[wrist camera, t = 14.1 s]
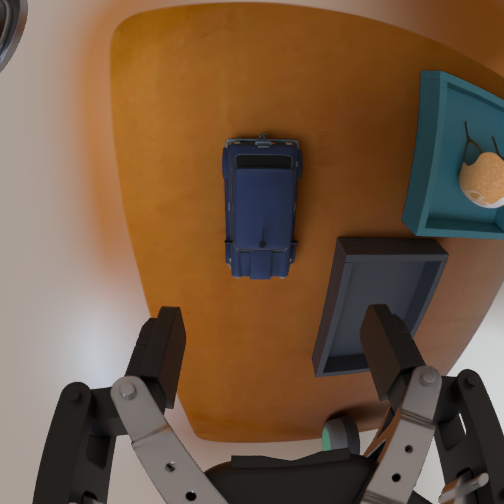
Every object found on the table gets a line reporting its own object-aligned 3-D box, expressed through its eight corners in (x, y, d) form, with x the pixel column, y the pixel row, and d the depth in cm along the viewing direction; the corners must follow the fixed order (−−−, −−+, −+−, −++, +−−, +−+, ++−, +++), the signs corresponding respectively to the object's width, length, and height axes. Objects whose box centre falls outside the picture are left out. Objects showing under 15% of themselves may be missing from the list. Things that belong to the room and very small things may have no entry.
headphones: (317, 431, 48) (328, 516, 31) (327, 408, 43) (343, 511, 25) (399, 415, 48) (420, 491, 31) (418, 390, 42) (448, 476, 25)
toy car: (227, 262, 27) (223, 302, 22) (223, 131, 21) (215, 142, 16) (290, 262, 27) (298, 301, 22) (299, 133, 21) (315, 144, 16)
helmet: (439, 133, 22) (449, 209, 21) (480, 105, 15) (500, 191, 14) (474, 149, 22) (484, 219, 22) (514, 128, 16) (531, 206, 15)
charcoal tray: (337, 237, 25) (346, 254, 23) (434, 239, 26) (449, 254, 23) (311, 358, 34) (315, 377, 32) (390, 350, 35) (397, 367, 32)
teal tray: (420, 70, 17) (440, 70, 14) (513, 112, 17) (532, 117, 15) (401, 221, 25) (415, 236, 22) (491, 227, 25) (506, 239, 22)
